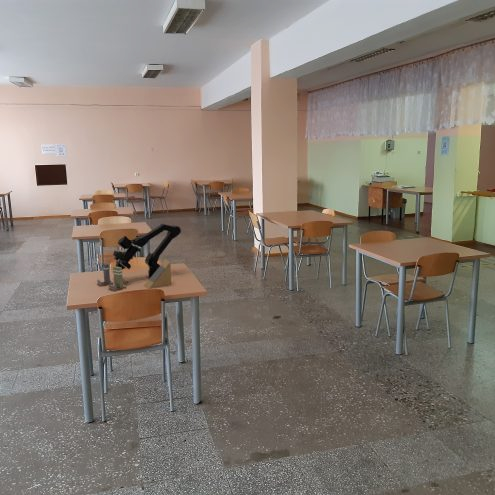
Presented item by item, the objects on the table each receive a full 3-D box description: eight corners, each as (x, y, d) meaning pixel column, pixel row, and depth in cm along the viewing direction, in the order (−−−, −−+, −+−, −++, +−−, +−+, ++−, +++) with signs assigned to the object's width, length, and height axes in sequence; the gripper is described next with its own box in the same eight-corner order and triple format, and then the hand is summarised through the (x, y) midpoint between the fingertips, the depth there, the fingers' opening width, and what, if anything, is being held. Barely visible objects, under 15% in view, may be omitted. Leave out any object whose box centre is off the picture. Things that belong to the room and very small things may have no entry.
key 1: (108, 281, 299) (106, 262, 297) (110, 282, 295) (109, 264, 292) (104, 281, 298) (102, 263, 295) (106, 283, 294) (104, 264, 291)
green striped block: (117, 285, 289) (116, 266, 287) (123, 286, 287) (122, 267, 284) (114, 286, 287) (112, 267, 285) (120, 287, 285) (118, 268, 282)
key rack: (109, 281, 302) (108, 277, 301) (127, 288, 287) (127, 283, 286) (95, 284, 295) (95, 280, 295) (113, 291, 280) (113, 287, 280)
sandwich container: (143, 285, 292) (141, 262, 289) (166, 282, 300) (165, 259, 297) (147, 289, 285) (146, 265, 282) (171, 285, 293) (170, 261, 290)
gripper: (116, 243, 305) (100, 262, 301) (124, 248, 289) (107, 268, 286) (128, 253, 310) (113, 272, 307) (137, 259, 294) (121, 279, 291)
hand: (113, 272), depth 297 cm, fingers closed
